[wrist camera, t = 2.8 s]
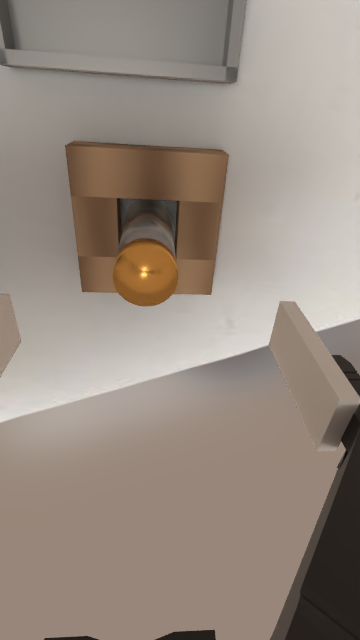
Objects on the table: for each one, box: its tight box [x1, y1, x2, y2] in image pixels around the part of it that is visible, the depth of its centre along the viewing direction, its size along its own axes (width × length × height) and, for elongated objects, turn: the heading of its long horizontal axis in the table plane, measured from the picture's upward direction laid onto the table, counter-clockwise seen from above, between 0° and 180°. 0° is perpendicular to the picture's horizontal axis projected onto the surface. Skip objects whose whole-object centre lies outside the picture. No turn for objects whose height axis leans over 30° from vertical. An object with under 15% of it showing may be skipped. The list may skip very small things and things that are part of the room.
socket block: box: [65, 141, 229, 295], centre depth 29 cm, size 12×12×3 cm
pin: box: [112, 199, 178, 306], centre depth 25 cm, size 4×4×12 cm
